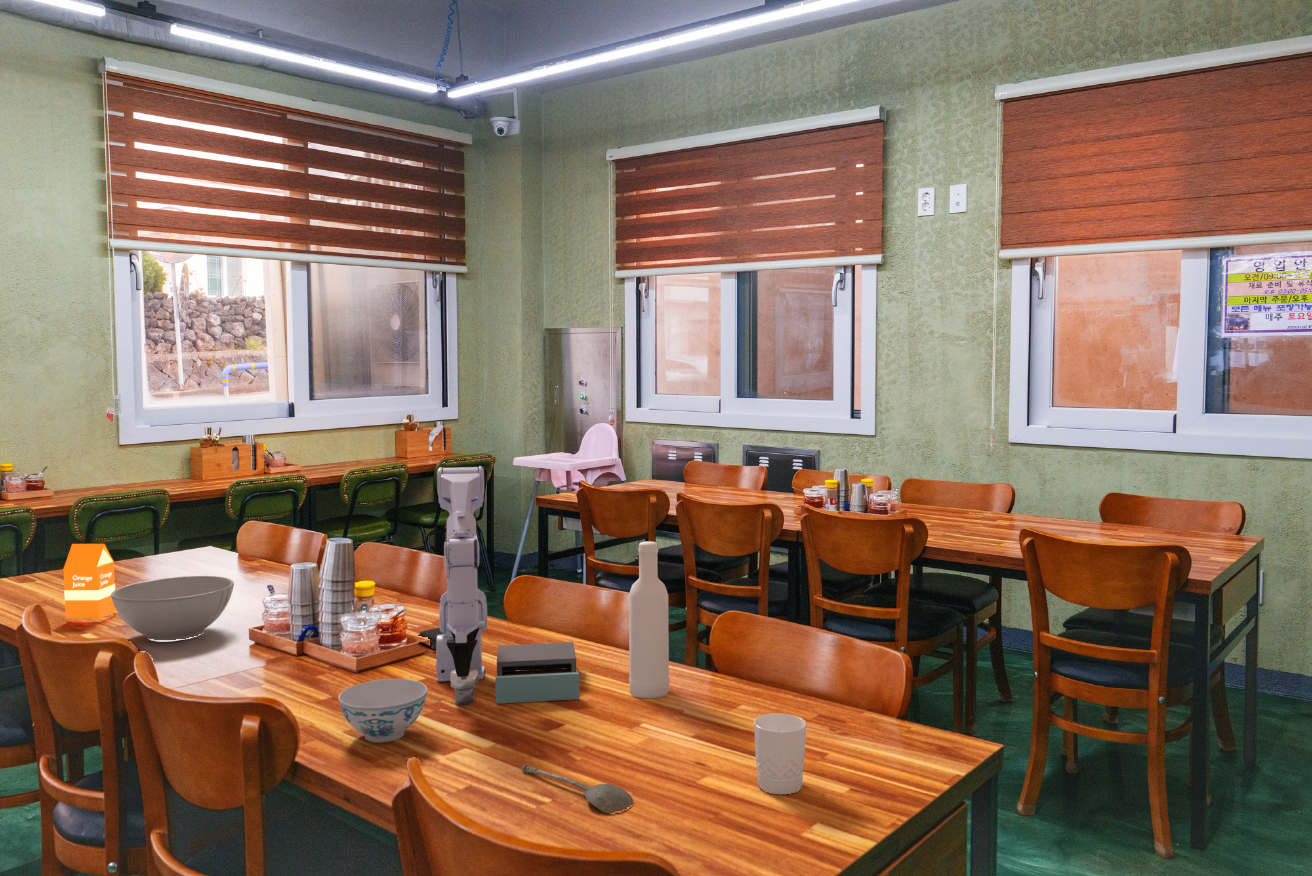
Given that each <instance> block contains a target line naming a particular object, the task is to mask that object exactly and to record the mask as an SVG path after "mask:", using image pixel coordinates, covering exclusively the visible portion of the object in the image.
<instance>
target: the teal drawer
mask: <svg viewBox="0 0 1312 876" xmlns="http://www.w3.org/2000/svg"><path fill="white" fill-rule="evenodd" d="M494 678H495V704H496V705H497V704H510V703H513V704H514V703H529V702H547V701H548V702H549V701H550V702H551V701H566V700H567V701H568V700H580V673H579V671H577V672H573V673H570V671H556V672H555V671H554V672H553V671H552V672H537V673H535V672H534V673H517V674H516V673H514V674H513V673H512V674H503V676H497V675H495V677H494Z"/></svg>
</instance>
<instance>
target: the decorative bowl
mask: <svg viewBox="0 0 1312 876" xmlns="http://www.w3.org/2000/svg"><path fill="white" fill-rule="evenodd" d="M234 586H235V583H234V581H233V580H232V579H231V578H227V577H223V576H215V575H214V576H213V575H190V576H189V575H186V576H173V577H164V578H163V577H162V578H155V579H150V580H144V581H139V582H135V583H134V582H133V583H130V584H127V585H122V586H120V587H118V588H115V590H114V591H113V592H112V593H111V599H112V602H113V604H114V606H115V608H116V613H117V614H118V615H119V617H120V618H121V619H122V620H123V622H124V623H125V624H126V625H128V626H129V627H130V628H131V629H132V630H134V631H135V632H136V633H139V634H142V635H144V636H146V638H147V637H148V638H149V639H154V640H176V639H186V638H189V637H194V636H198V635H199V634H202V633H203V632H204V631H205V629H206V628H208V627H209V626H211V625H212V624H213V623H214V622H215V621H217V619H219V618H220V616H221V615H222V613H223V612H224V611H225V610H226V609H225V608H226V607H227V606H228V603H229V601H230V599H231V596H232V594H233V589H234ZM203 634H204V633H203ZM203 634H202V635H203Z"/></svg>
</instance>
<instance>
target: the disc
mask: <svg viewBox="0 0 1312 876" xmlns="http://www.w3.org/2000/svg"><path fill="white" fill-rule="evenodd" d="M450 674H451V681H450V687H451V688H453V689H455V688H456V689H467V688H472V687H474V688H475V687H477V686H478V685H479V679H478V670H476V669H472V668H470V672H469V676H465V677H457V674H456V670H454V671H452V672H451V673H450Z"/></svg>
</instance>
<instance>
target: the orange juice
mask: <svg viewBox="0 0 1312 876" xmlns="http://www.w3.org/2000/svg"><path fill="white" fill-rule="evenodd" d="M114 562H115V561H114V559H113V557H112V556H111V554H110V552H109V550H108V549H107V545H106V544H105V543H72V544H71V546H70V550H69V552H68V555H67V558H66V560H65V564H64V566H63V582H64V584H63V585H64V586H63V587H64V590H63V591H64V605H65V606H64V607H65V608H64V609H65V610H64V611H65V619H66V618H98V619H100V618H103V617H104V616H108V615H111V614H113V613H116V614H117V610H116V608H115V606H114V604H113V602H112V599H111V593H112V592H113V591H114V590H116V583H115V565H114V564H115V563H114Z"/></svg>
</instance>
